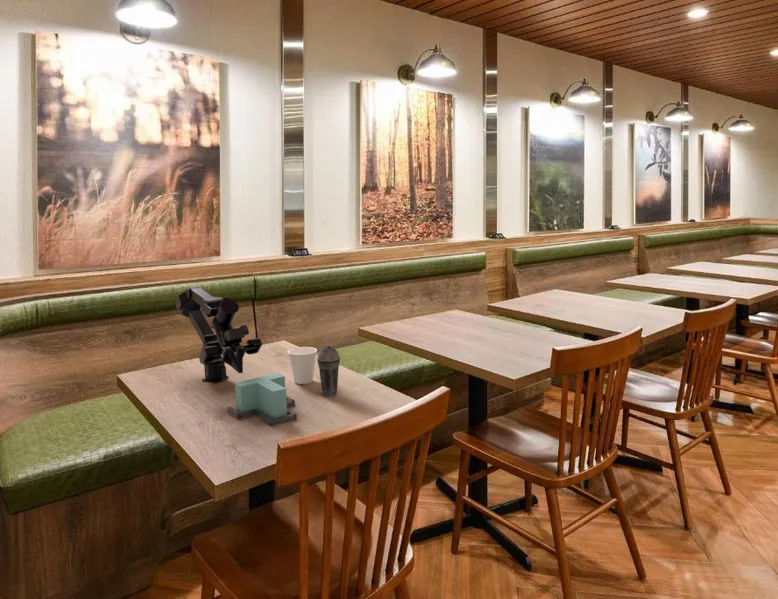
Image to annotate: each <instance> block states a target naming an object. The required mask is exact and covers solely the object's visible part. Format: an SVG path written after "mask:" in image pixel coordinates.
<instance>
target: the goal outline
mask: <svg viewBox="0 0 778 599" xmlns="http://www.w3.org/2000/svg"><path fill="white" fill-rule="evenodd" d="M286 399H287V415H285V416H282V417H278V418H275V419H272V418H270V417H269V416H267V415H265V414H264V413H262V412H261V411H259V410H258V409H253V410H250V411H246V412H242V413H240V412H238V411H237V409H236V408H234V407H232V406H231V405H228V406H226V412H227V411H228V412H229V414H230V413H231V414H232V415H231V414H230V415H231V416H233V415H234V416H235V417H236V419H237V418H238V419H240V420H242V419H241V418H244V419H246V418H245V417H247V418H250V416H251V417H254V415H256V416H255V417H257V418H258V417H259V418H258V419H259V420H261V421H263V422H264V423H265V424H267V425H269V427H274V426H277V425H280V424H284V423H288V422H292V421H295V420H297V417H298V416H297V415H298V414H297V413H296V412H294V411H292V410H290V408H289V407H292V405H293V406H295V405H296V402H295V401H296V400H295V399H293V398H292V397H289V396H288V395H286ZM288 406H289V407H288ZM228 412H227V413H228ZM234 416H233V417H234ZM235 417H234V418H235ZM238 419H237V420H238ZM294 419H295V420H294Z"/></svg>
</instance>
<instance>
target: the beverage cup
mask: <svg viewBox="0 0 778 599" xmlns="http://www.w3.org/2000/svg"><path fill="white" fill-rule="evenodd" d="M324 335H325V345H326V346H324V347H323V348H321V349H320V350H319V352H317V353H318V354H317V358H316V361H317V366H318V369H319V379H320V385H321V393H322V396H323V397H324V396H325V398H333V397H335V396H337V393H338V384H339V383H338V382H339V368H340V362H341V356H340V353H339V351H338V350H337V349H336V348H335V347H333V346H329V342H328V333H325V334H324Z"/></svg>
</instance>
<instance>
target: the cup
mask: <svg viewBox="0 0 778 599" xmlns="http://www.w3.org/2000/svg"><path fill="white" fill-rule="evenodd" d="M317 353H318V349H317V348H315V347H313V346H312V347H311V346H298V347H293V348H290V349H288V350H287V354H288V358H289V361H290V362H289V363H290V368H291V372H292V376H293V381H294V383H295V384H296V383H297V384H296V385H300V384H304V385H309V384H311V383H312V382H313V381H314V374H315V366H316V360H317ZM308 383H309V384H308Z"/></svg>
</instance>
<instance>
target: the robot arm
mask: <svg viewBox="0 0 778 599" xmlns="http://www.w3.org/2000/svg"><path fill="white" fill-rule="evenodd" d="M175 308H176V309H177V310H178V312H179V313H180V314H181V316H184V317H185V318H188V319H189V321H190V323H191V325H192V326H193V328H194V330H195V332H196V333H197V335H198V337H199V339H200V341H201V342H202V347H201V351H200V353H199V356H198V359H199V363H200V364H201V365H203V366H204V377H203V378H202V379H201V381H202V382H210V383H220V382H222V381H224V380H226V379H228V378H229V375H227V367H226V364H227V365H228V366H230V368H232V369H234V370H235V371H236V372H237V373H238V374H243V371H244V369H243V367H244V366H243V365H244V356H245V355H247V354H248V355H255V354H258V353H259V351H260V349H261V348H262V345H263V341H262V339H261V338H260V337H256V338H254V337H253V338H249V339H248V340H247V341H246V343H244V344H241V343H242V342H243V339H244V338H246V336H248V335H249V334H250V331H249V328H248V326H247V324H243V325H242V324H241V325H240V326H239V327H236V328H234V327H233V324H232V323H233V322H234V320H235V318H236V316H237V314H238V312H239V309H240V307H239V304H238V303H237V302H236V301H234V300H232V299H230V297H229V296H226V297H220V296H219V297H218V296H213V295H211V294H210V293H208V292H207V291H206V290H205V289H204V288H203V287H202V286H199V285H198V286H190V287H187V288H186V289H185V291H183V292H182V293H180V294H179V295H178V296H177V298H176V301H175ZM207 318H212V321H211V324H209V322H208V320H207Z"/></svg>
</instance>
